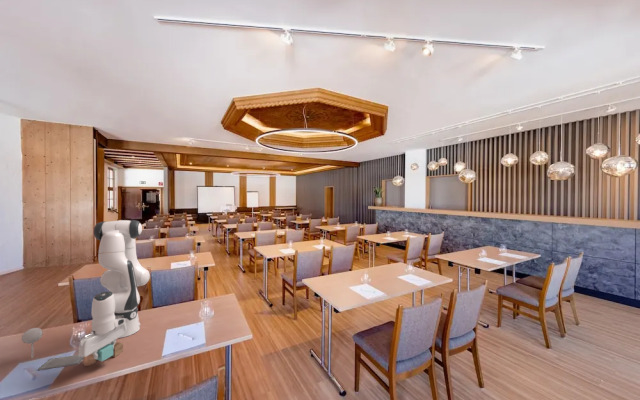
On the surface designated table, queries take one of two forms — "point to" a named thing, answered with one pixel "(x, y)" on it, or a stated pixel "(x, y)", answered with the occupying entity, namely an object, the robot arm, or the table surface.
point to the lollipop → (32, 337)
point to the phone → (61, 362)
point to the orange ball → (89, 360)
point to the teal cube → (105, 352)
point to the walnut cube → (117, 349)
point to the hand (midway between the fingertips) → (104, 353)
